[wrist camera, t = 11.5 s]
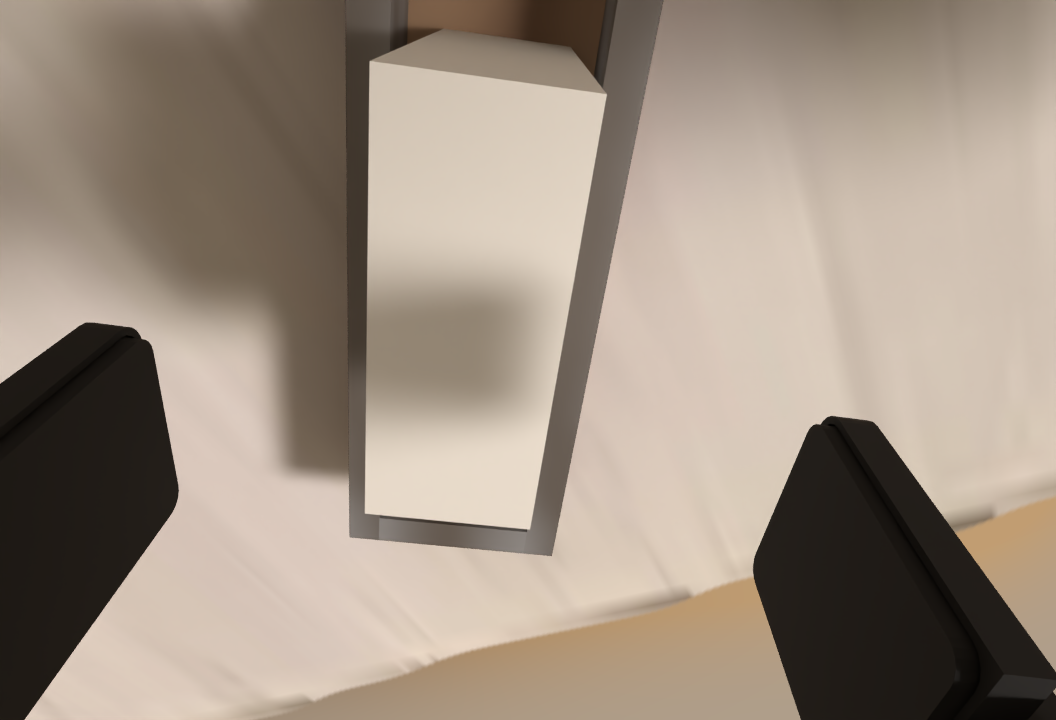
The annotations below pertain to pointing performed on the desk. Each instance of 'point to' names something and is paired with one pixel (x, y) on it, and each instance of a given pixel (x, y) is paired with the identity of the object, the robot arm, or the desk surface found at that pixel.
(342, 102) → the desk surface
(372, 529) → the door track
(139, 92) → the desk surface
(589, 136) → the white rectangular box
